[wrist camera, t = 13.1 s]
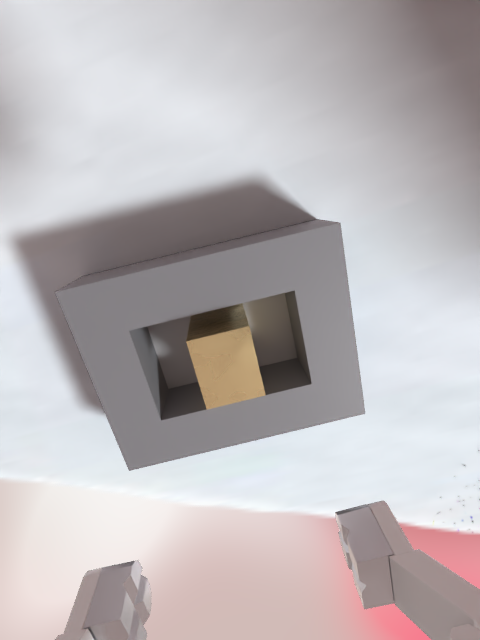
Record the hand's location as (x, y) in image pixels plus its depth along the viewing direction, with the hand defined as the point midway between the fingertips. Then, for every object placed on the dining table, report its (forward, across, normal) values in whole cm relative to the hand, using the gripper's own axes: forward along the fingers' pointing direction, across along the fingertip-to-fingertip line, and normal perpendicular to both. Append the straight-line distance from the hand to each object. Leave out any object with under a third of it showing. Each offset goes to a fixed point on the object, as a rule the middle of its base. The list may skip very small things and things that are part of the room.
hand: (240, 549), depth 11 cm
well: (+19, 0, 0) cm, 19 cm away
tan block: (+18, 0, 0) cm, 18 cm away
